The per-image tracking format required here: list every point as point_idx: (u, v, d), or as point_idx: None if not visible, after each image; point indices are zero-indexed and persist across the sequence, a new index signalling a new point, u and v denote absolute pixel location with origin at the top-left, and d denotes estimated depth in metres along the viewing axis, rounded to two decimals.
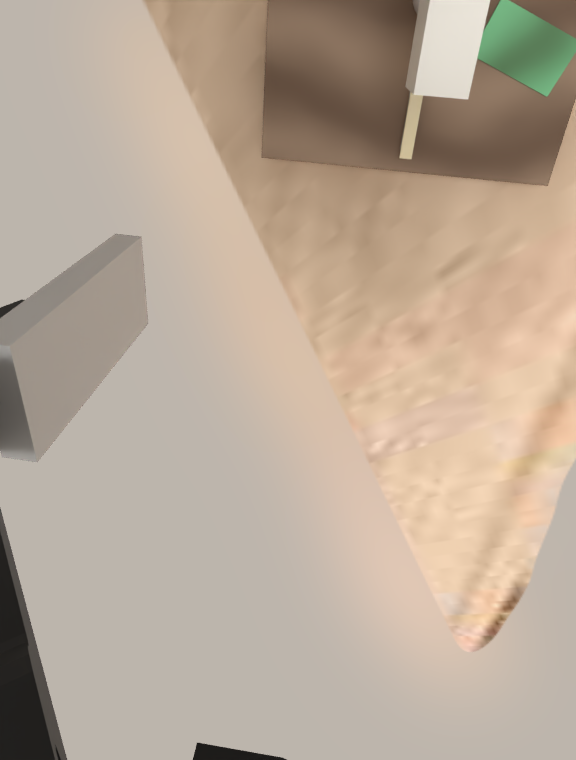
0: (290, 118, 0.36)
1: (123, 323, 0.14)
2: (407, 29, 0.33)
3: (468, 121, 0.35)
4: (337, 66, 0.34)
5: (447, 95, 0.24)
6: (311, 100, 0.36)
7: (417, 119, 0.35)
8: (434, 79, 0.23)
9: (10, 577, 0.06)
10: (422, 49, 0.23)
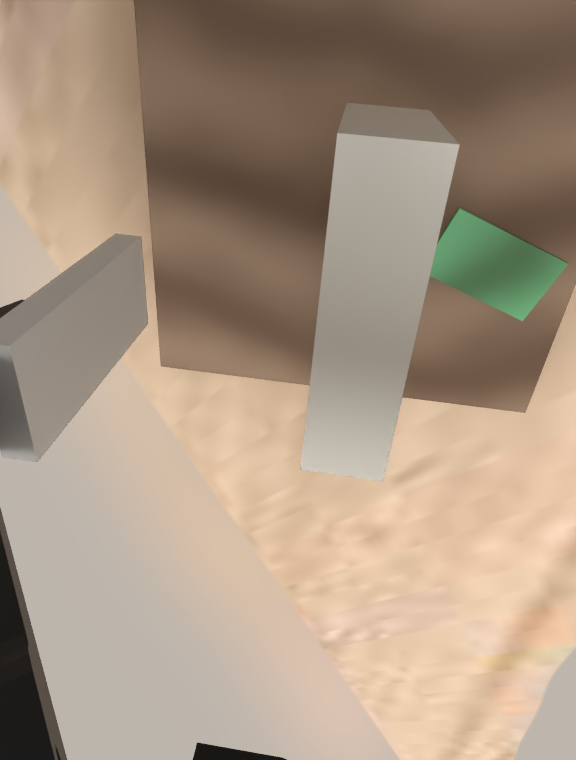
0: (192, 327, 0.28)
1: (123, 323, 0.14)
2: None
3: (420, 341, 0.27)
4: (246, 275, 0.26)
5: (351, 474, 0.15)
6: (217, 309, 0.27)
7: None
8: (328, 456, 0.15)
9: (10, 577, 0.06)
10: (307, 422, 0.15)
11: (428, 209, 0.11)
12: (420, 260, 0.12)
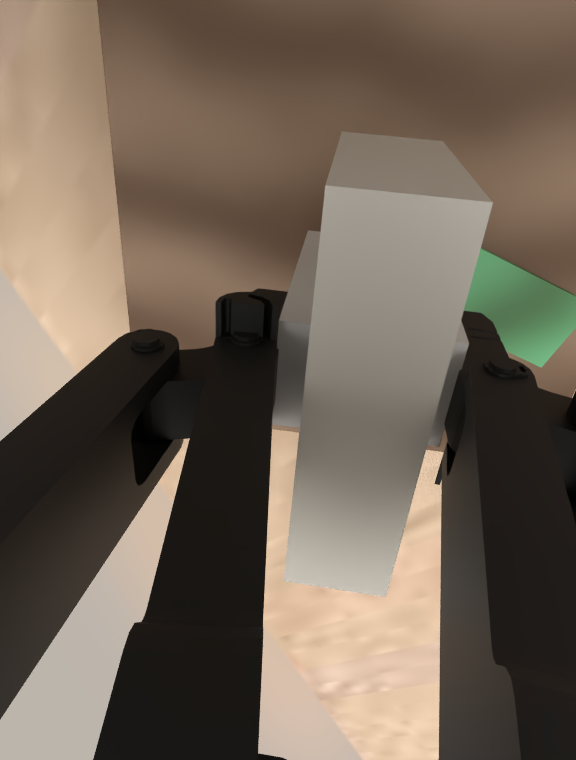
0: None
1: None
2: None
3: None
4: None
5: (346, 589, 0.12)
6: None
7: None
8: (319, 568, 0.12)
9: (264, 554, 0.06)
10: (291, 530, 0.12)
11: (447, 284, 0.08)
12: (436, 347, 0.09)
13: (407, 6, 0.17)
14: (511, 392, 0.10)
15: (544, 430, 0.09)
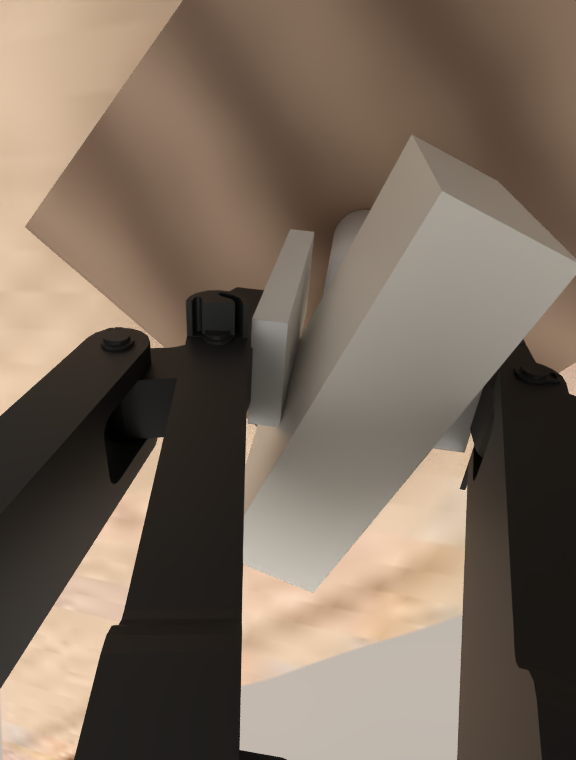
0: (95, 215, 0.22)
1: (303, 310, 0.16)
2: None
3: None
4: (198, 211, 0.21)
5: (279, 576, 0.12)
6: (138, 219, 0.22)
7: None
8: (260, 551, 0.12)
9: (241, 552, 0.06)
10: (250, 509, 0.11)
11: (508, 326, 0.08)
12: (469, 380, 0.09)
13: (541, 92, 0.18)
14: (541, 398, 0.09)
15: (574, 437, 0.08)
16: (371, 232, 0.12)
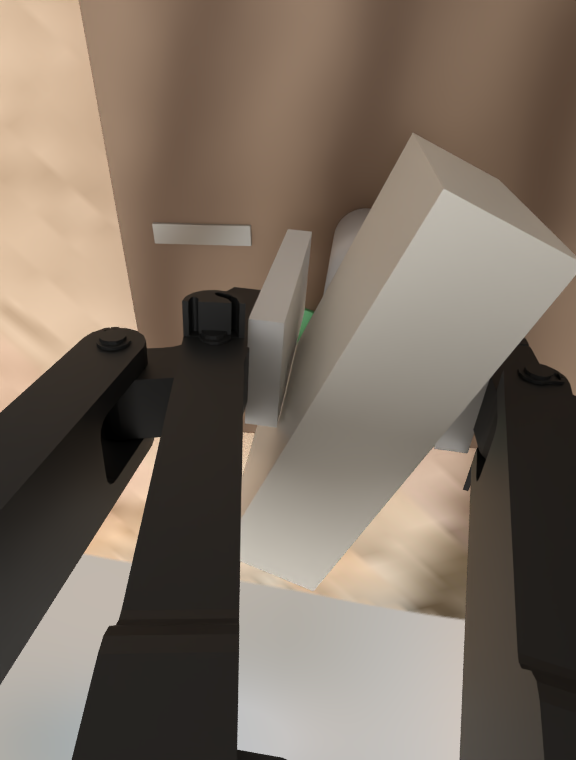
0: None
1: (301, 309, 0.16)
2: (321, 205, 0.20)
3: None
4: (257, 84, 0.18)
5: (279, 575, 0.12)
6: (194, 33, 0.18)
7: None
8: (261, 548, 0.12)
9: (239, 552, 0.06)
10: (250, 507, 0.11)
11: (508, 324, 0.08)
12: (470, 378, 0.09)
13: None
14: (545, 399, 0.09)
15: None
16: (372, 230, 0.12)
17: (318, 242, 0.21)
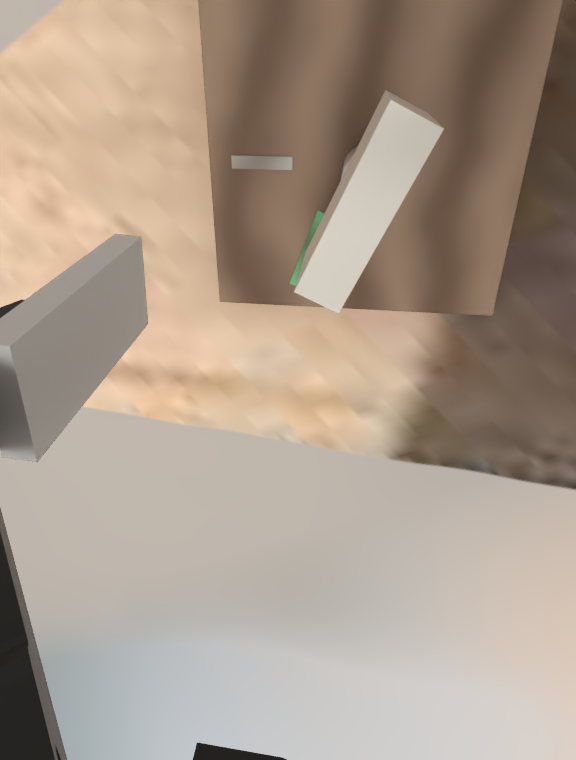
0: (244, 10, 0.30)
1: (123, 323, 0.14)
2: (336, 144, 0.34)
3: (263, 220, 0.37)
4: (301, 68, 0.32)
5: (322, 304, 0.26)
6: (266, 38, 0.31)
7: None
8: (314, 287, 0.25)
9: (10, 577, 0.06)
10: (310, 261, 0.25)
11: (418, 156, 0.22)
12: (405, 182, 0.22)
13: (481, 171, 0.33)
14: None
15: None
16: (366, 135, 0.25)
17: (334, 167, 0.34)
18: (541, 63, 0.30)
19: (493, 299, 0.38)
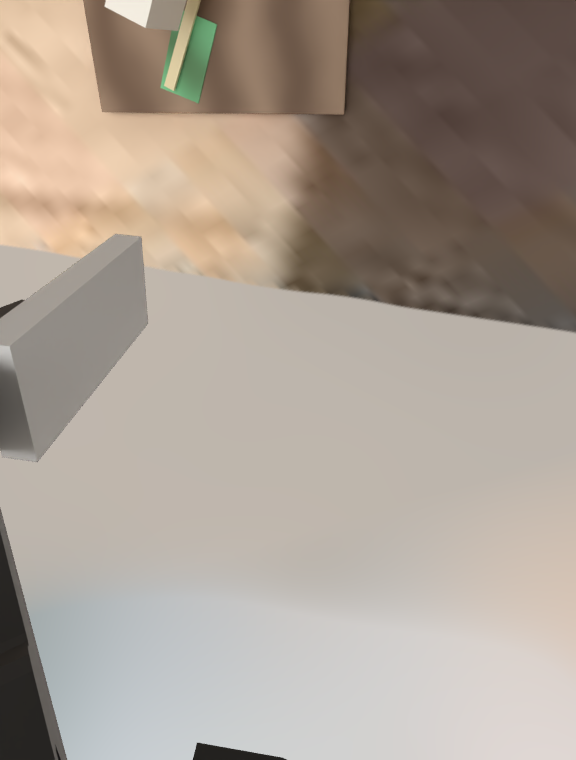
0: None
1: (123, 323, 0.14)
2: None
3: (130, 20, 0.40)
4: None
5: (130, 18, 0.29)
6: None
7: (182, 57, 0.40)
8: (120, 0, 0.29)
9: (10, 577, 0.06)
10: None
11: None
12: None
13: None
14: None
15: None
16: None
17: None
18: None
19: (342, 96, 0.41)
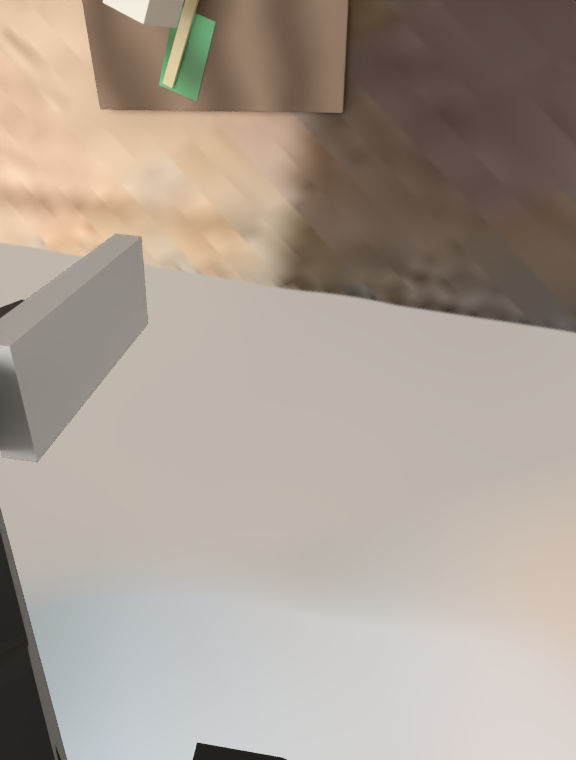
0: None
1: (123, 323, 0.14)
2: None
3: (129, 17, 0.40)
4: None
5: (128, 14, 0.29)
6: None
7: (180, 54, 0.40)
8: None
9: (10, 577, 0.06)
10: None
11: None
12: None
13: None
14: None
15: None
16: None
17: None
18: None
19: (341, 94, 0.41)
